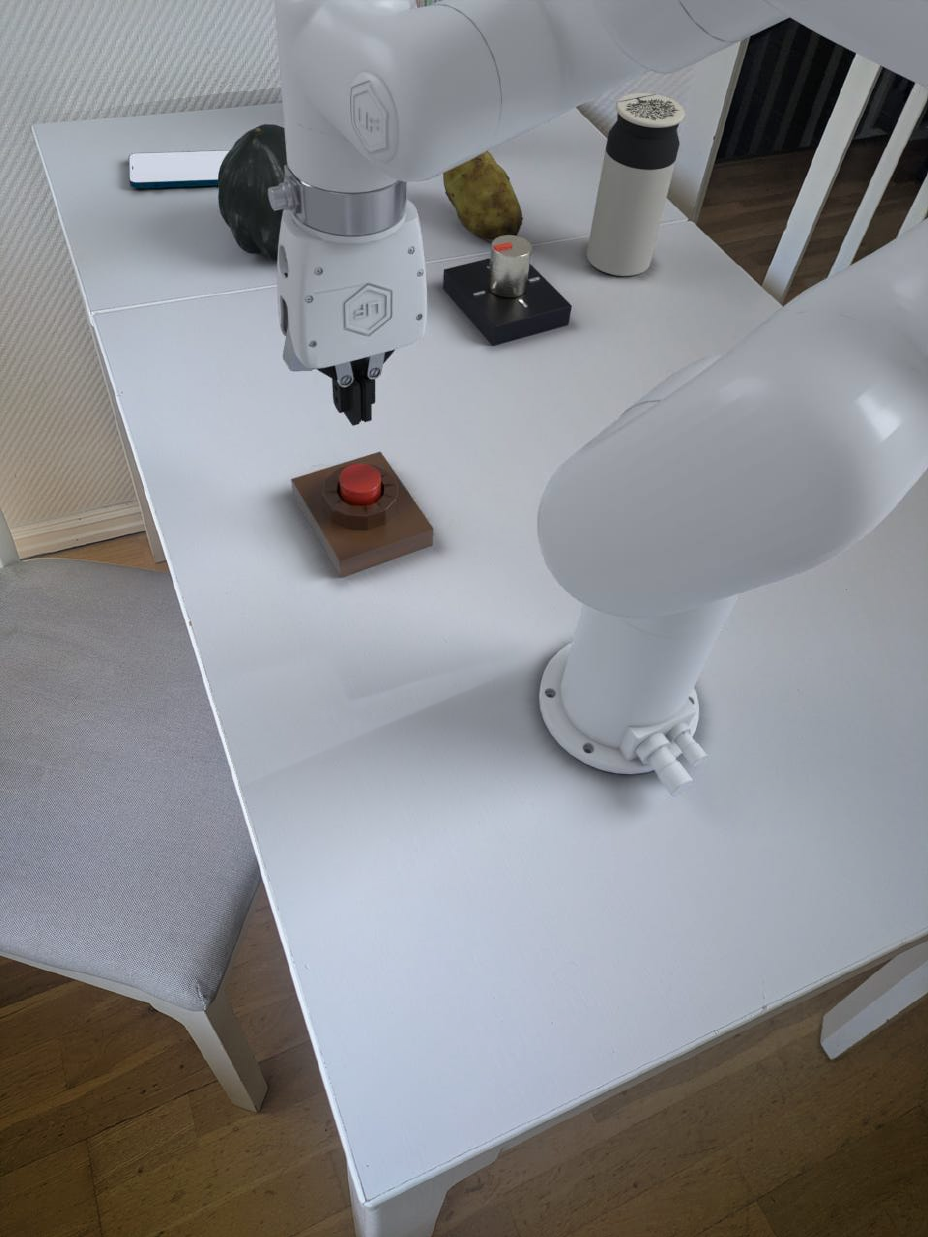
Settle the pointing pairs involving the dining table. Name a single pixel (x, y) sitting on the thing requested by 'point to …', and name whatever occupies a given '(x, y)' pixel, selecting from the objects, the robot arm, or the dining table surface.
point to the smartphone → (175, 168)
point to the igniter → (362, 518)
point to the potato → (483, 197)
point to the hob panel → (505, 303)
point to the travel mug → (634, 183)
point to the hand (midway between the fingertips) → (354, 412)
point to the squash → (253, 189)
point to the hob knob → (509, 266)
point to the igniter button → (360, 485)
